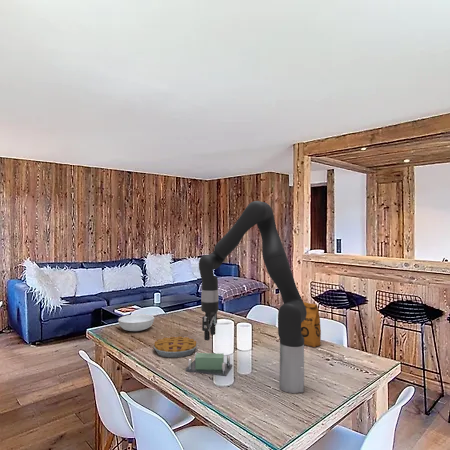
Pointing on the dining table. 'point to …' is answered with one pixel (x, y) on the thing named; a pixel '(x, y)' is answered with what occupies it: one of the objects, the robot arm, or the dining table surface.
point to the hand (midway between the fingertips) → (210, 337)
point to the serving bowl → (136, 322)
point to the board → (209, 361)
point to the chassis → (222, 372)
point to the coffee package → (311, 326)
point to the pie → (175, 346)
